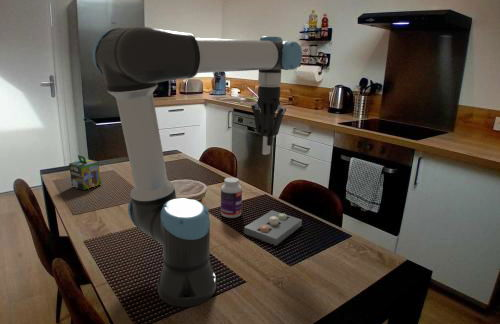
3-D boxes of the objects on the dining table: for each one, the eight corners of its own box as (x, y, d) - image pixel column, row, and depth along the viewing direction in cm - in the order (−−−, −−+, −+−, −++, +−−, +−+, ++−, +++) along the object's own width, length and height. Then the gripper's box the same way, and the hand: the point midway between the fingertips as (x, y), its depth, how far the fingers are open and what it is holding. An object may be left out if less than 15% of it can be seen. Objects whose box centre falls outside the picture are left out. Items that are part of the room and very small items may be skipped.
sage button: (283, 224, 126) (284, 218, 126) (276, 222, 128) (276, 215, 127) (288, 221, 129) (288, 215, 128) (280, 219, 131) (281, 212, 130)
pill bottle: (238, 220, 130) (239, 184, 126) (218, 217, 132) (218, 182, 128) (243, 211, 138) (244, 177, 134) (224, 209, 139) (224, 175, 135)
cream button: (275, 228, 121) (275, 221, 121) (267, 225, 123) (267, 218, 122) (279, 225, 124) (280, 217, 123) (272, 222, 126) (272, 215, 125)
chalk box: (101, 185, 160) (98, 154, 156) (83, 191, 153) (80, 159, 148) (89, 181, 165) (86, 151, 160) (71, 187, 157) (67, 155, 153)
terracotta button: (265, 237, 117) (266, 230, 116) (257, 234, 119) (258, 227, 118) (270, 234, 120) (271, 226, 119) (263, 231, 121) (263, 224, 121)
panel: (275, 245, 114) (276, 239, 113) (244, 233, 121) (244, 227, 120) (301, 225, 128) (301, 219, 127) (271, 216, 135) (271, 210, 134)
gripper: (292, 86, 115) (287, 155, 122) (259, 83, 122) (257, 148, 129) (280, 87, 109) (276, 159, 116) (247, 84, 116) (245, 152, 123)
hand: (266, 153), depth 122 cm, fingers closed
